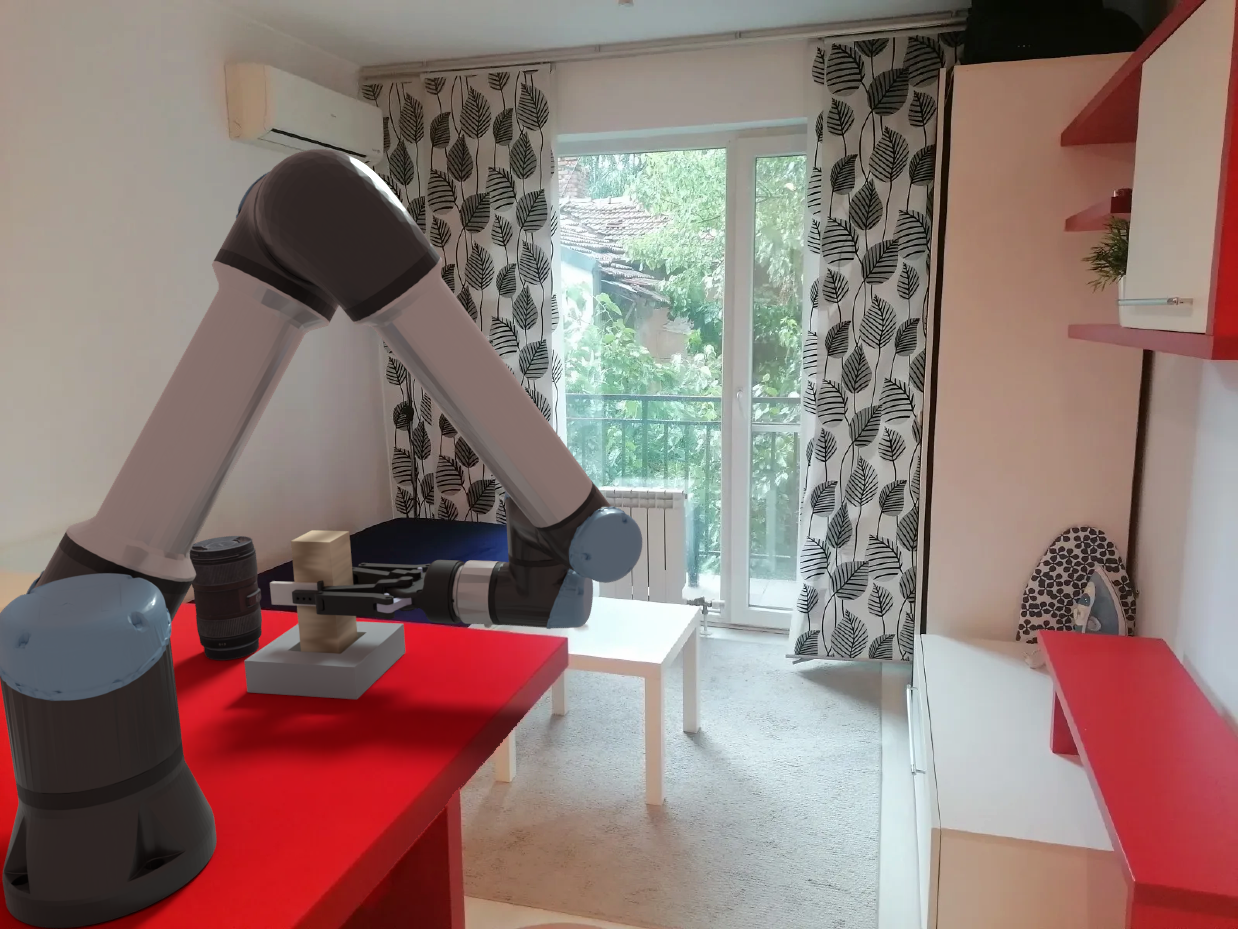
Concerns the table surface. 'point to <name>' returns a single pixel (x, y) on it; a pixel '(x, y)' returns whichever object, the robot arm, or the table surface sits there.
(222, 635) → the camera lens
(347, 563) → the peg
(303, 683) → the socket block
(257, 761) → the table surface
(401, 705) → the table surface
